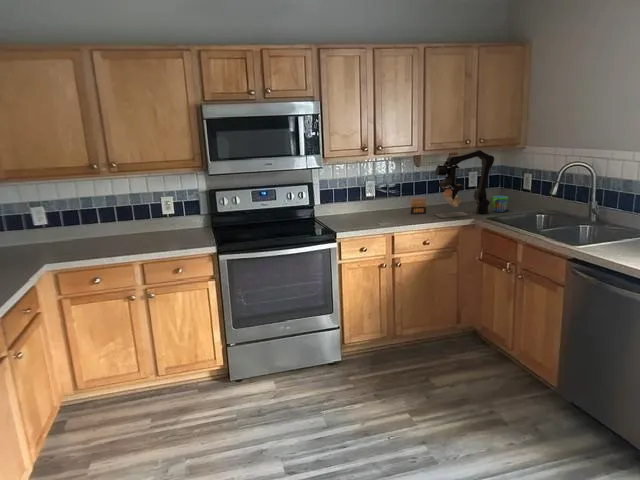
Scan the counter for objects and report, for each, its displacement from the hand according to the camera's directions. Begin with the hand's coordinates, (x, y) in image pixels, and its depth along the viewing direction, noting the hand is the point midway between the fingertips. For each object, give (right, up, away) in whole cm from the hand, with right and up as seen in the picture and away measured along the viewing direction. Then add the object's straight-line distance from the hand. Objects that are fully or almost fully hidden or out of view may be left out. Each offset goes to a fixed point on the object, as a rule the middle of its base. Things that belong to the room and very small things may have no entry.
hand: (450, 198), depth 342 cm
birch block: (+5, -3, +3) cm, 7 cm away
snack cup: (+37, -8, +11) cm, 40 cm away
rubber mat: (+2, -11, +4) cm, 12 cm away
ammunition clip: (-19, -10, +15) cm, 26 cm away
